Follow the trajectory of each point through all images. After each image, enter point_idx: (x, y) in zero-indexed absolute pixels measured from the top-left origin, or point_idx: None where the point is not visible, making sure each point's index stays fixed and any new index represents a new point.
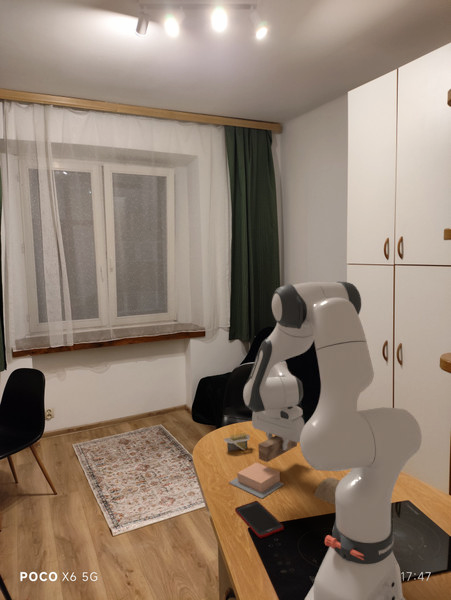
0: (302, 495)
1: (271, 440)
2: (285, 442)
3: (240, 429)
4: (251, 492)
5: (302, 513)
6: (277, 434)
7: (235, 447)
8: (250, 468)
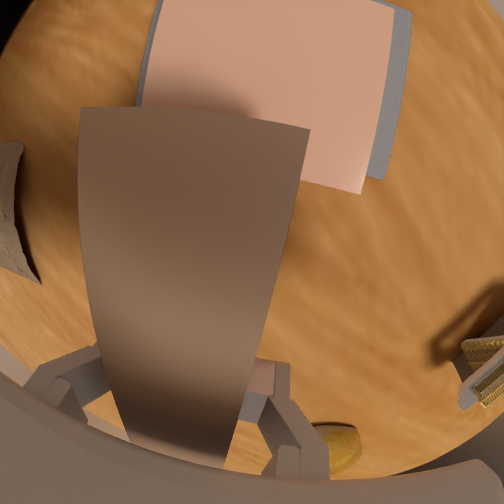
0: (45, 115)
1: (182, 373)
2: (53, 360)
3: (476, 420)
4: None
5: (21, 35)
6: (77, 443)
7: (497, 332)
8: (351, 88)
